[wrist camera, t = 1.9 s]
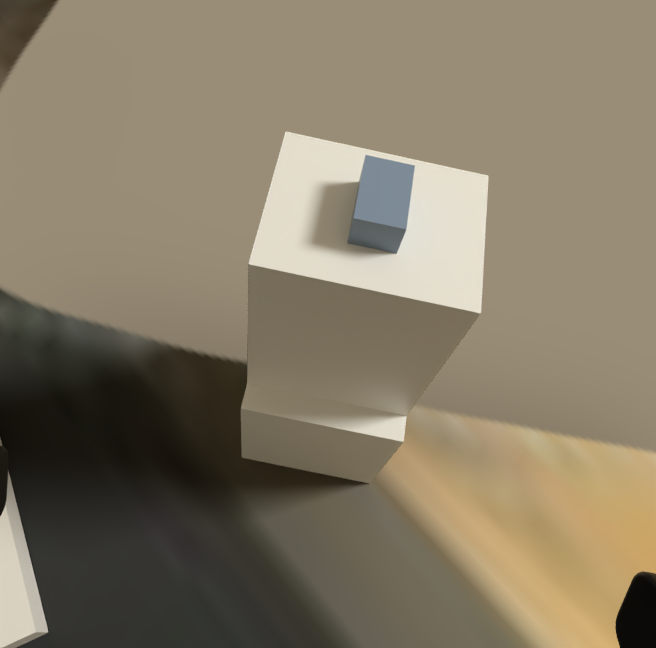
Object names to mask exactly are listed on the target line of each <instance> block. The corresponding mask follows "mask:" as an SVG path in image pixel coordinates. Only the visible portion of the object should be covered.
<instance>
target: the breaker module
mask: <svg viewBox="0 0 656 648" xmlns="http://www.w3.org/2000/svg"><path fill="white" fill-rule="evenodd" d="M487 193H488V176H487V175H483V174H478V173H473V172H469V171H464V170H459V169H455V168H450V167H446V166H441V165H437V164H432V163H428V162H423V161H419V160H414V159H409V158H404V157H400V156H396V155H391V154H387V153H381V152H377V151H373V150H368V149H363V148H359V147H354V146H350V145H345V144H340V143H336V142H332V141H327V140H322V139H318V138H313V137H309V136H304V135H299V134H295V133H290V132H286V133H285V136H284V140H283V143H282V147H281V150H280V154H279V157H278V161H277V165H276V168H275V172H274V175H273V179H272V183H271V186H270V189H269V193H268V197H267V200H266V204H265V207H264V211H263V214H262V218H261V221H260V225H259V228H258V232H257V235H256V239H255V243H254V246H253V250H252V253H251V257H250V261H249V264H248V354H247V356H248V358H247V386H246V390H245V394H244V398H243V402H242V406H241V452H242V458H246V459H251V460H256V461H261V462H266V463H270V464H275V465H280V466H285V467H290V468H295V469H300V470H305V471H310V472H315V473H320V474H325V475H330V476H335V477H340V478H345V479H350V480H354V481H359V482H364V483H369V484H370V483H371V482H372V480H373V479H374V478H375V477H376V475H377V474H378V473H379V472H380V470H381V469H382V468H383V467H384V465H385V464H386V463H387V462H388V460H389V459H390V458H391V457H392V455H393V454H394V453H395V452H396V451H397V449H398V448H399V447H400V446H401V444H402V443H403V441H404V433H405V424H406V416H407V414H408V413H409V412H410V410H411V409H412V408H413V406H414V405H415V403H416V402H417V401H418V399H419V398H420V397H421V395H422V394H423V392H424V391H425V390H426V388H427V387H428V386H429V384H430V383H431V381H432V380H433V379H434V377H435V376H436V375H437V373H438V372H439V370H440V369H441V368H442V366H443V365H444V364H445V362H446V361H447V359H448V358H449V357H450V355H451V354H452V353H453V351H454V350H455V348H456V347H457V346H458V344H459V343H460V341H461V340H462V339H463V337H464V336H465V335H466V333H467V332H468V330H469V329H470V328H471V326H472V325H473V324H474V322H475V321H476V319H477V318H478V317H479V315H480V314H481V303H482V284H483V266H484V247H485V229H486V211H487Z"/></svg>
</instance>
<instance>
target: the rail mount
mask: <svg viewBox="0 0 656 648" xmlns="http://www.w3.org/2000/svg"><path fill="white" fill-rule="evenodd" d="M0 446H2V443H1V439H0ZM46 633H48V629H47V625H46V621H45V616H44V612H43V608H42V604H41V600H40V596H39V592H38V588H37V584H36V580H35V576H34V572H33V568H32V564H31V560H30V556H29V552H28V548H27V544H26V540H25V536H24V532H23V528H22V523H21V519H20V515H19V511H18V507H17V503H16V499H15V495H14V491H13V487H12V483H11V479H10V475H9V471H8V485H7V499H6V504H5V507H4V510H3V512H2V515H1V516H0V648H16V647H18V646H20V645H22V644H25V643H27V642H29V641H31V640H33V639H35V638H38V637H40V636H42V635H44V634H46Z"/></svg>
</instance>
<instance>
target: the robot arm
mask: <svg viewBox="0 0 656 648" xmlns="http://www.w3.org/2000/svg"><path fill="white" fill-rule="evenodd" d="M8 466H9V454H8V451H7V449H6V448H5V447H4V446H0V516H1V515H2V512H3V510H4V507H5V504H6V499H7V485H8ZM616 634H617V638H618V642H619V645H620V648H656V574H655V573H649V572H640V573H638V574H636V575H635V576H634V578H633V580H632V582H631V584H630V586H629V589H628V591H627V593H626V596H625V598H624V600H623V603H622V605H621V607H620V610H619V612H618V615H617V618H616Z"/></svg>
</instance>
